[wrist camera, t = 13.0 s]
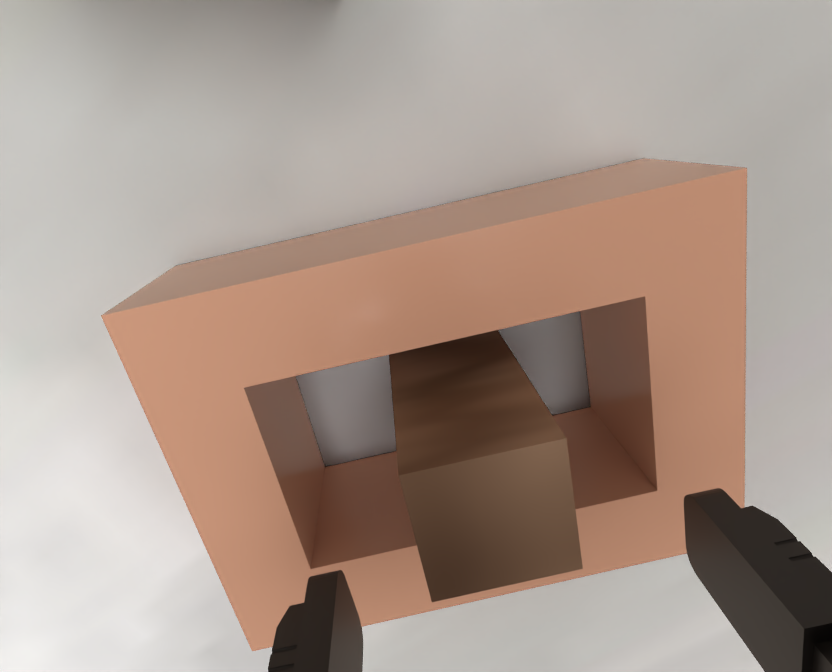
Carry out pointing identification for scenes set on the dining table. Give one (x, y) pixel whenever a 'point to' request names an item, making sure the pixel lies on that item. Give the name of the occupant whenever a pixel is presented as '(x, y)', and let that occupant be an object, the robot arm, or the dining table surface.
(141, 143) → the dining table surface
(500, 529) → the walnut post
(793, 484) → the dining table surface
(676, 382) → the orange rectangular frame
